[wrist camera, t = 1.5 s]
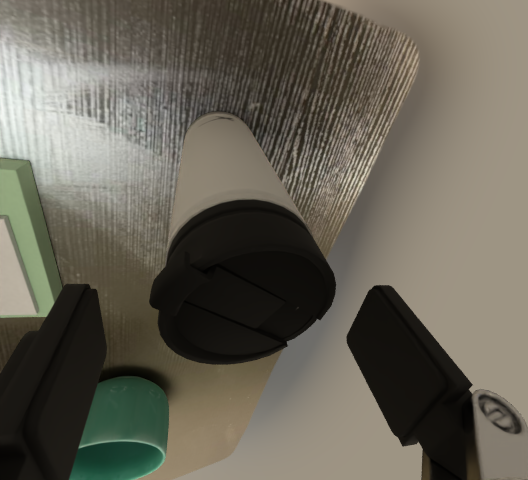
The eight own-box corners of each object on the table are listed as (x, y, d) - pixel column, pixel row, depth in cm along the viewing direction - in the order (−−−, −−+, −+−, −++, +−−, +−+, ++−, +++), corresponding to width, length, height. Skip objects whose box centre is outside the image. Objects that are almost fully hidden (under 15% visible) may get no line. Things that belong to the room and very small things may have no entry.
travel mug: (210, 90, 23) (237, 200, 7) (268, 144, 26) (382, 307, 10) (165, 150, 25) (101, 350, 9) (225, 193, 28) (261, 398, 12)
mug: (176, 363, 41) (171, 436, 34) (167, 409, 48) (161, 479, 40) (41, 363, 36) (-2, 449, 29) (50, 414, 43) (18, 496, 35)
